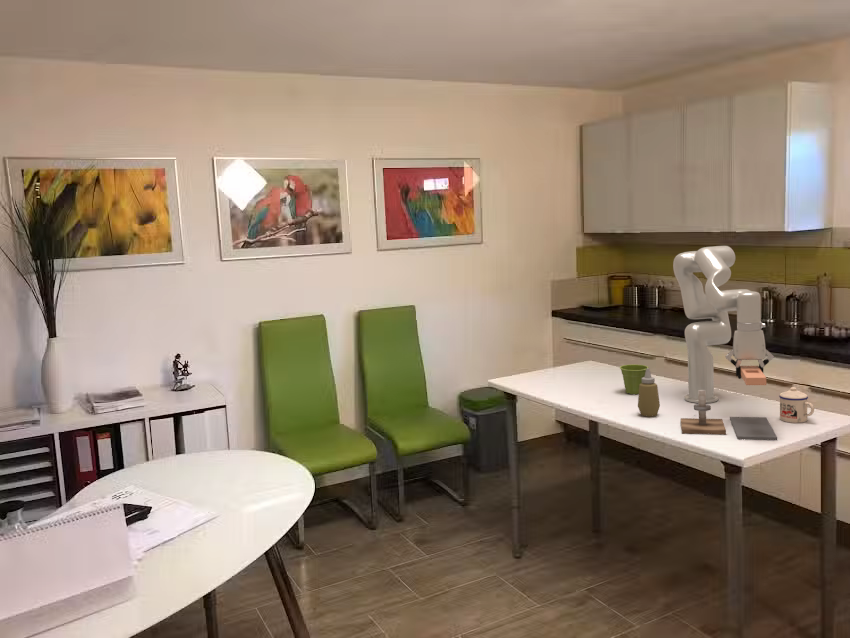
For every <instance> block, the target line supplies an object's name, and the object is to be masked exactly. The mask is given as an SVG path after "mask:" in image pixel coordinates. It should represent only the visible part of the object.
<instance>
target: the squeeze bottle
mask: <svg viewBox="0 0 850 638" xmlns="http://www.w3.org/2000/svg"><path fill="white" fill-rule="evenodd" d="M660 406H661V403H660V396H659V387H658V384H657V383H656V382H655V377H653V376H652V374H651V370H650V368H647V369H646V372H645V377H643V378H642V383H641V384H640V385H639V394H638V398H637V408H638V410H639V414H640V415H641V416H643V417H650V418H652V417H656V416H658V413H659V410H660Z"/></svg>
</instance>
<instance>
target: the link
mask: <svg viewBox="0 0 850 638" xmlns="http://www.w3.org/2000/svg"><path fill="white" fill-rule="evenodd" d="M758 366H759V365H740V367H741V379H742V380H743V382H744V384H745V385H746V386H767V377H766V375H765V374H764V371H763V372H762V371H761V370H760V368H759V367H758Z"/></svg>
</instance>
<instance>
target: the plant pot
mask: <svg viewBox="0 0 850 638" xmlns="http://www.w3.org/2000/svg"><path fill="white" fill-rule="evenodd" d="M647 368H649V366H647V365H644V364H634V363H633V364H631V363H630V364H623V365H620V366H619V370H621V375H622V378H623V384H624V385H623V386H624V389H625V393H626V392H627V394H628V393H630V394H629V395H633V394H635V395H639V385H640V384H641V383H642V378H643V377H645V372H646V369H647ZM649 369H650V368H649Z"/></svg>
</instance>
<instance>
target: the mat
mask: <svg viewBox="0 0 850 638" xmlns="http://www.w3.org/2000/svg"><path fill="white" fill-rule="evenodd" d="M729 421H730V423H731V426H732V429H733V432H734V434H735V436H736V439H737V440H742V439H743V440H744V439H745V441H746V440H747V441H748V440H749V441H751V440H752V441H778V436H777V434H776V432H775V430H774V429H773V427H772V425H771V423H770V422H769V420H768V417H765V416H729Z"/></svg>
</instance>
